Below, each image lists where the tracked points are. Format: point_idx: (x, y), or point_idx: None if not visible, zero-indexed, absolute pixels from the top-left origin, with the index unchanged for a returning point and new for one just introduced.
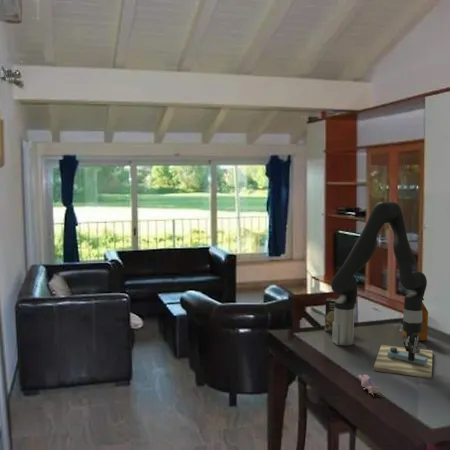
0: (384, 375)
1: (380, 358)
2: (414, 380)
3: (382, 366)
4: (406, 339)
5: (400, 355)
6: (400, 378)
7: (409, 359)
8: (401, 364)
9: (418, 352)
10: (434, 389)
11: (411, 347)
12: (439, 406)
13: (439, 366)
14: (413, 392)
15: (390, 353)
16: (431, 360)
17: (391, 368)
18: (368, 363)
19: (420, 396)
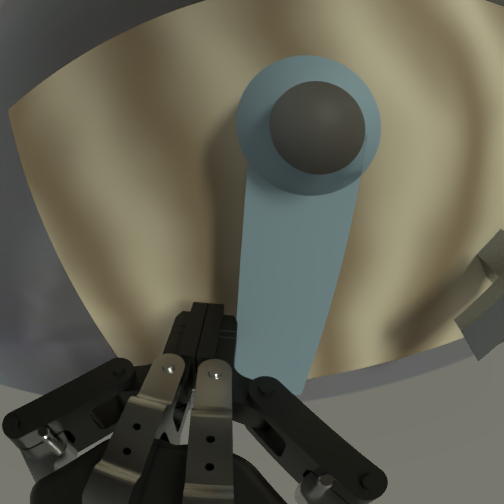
0: (10, 193)
1: (189, 35)
2: (68, 326)
3: (38, 146)
4: (98, 469)
5: (243, 224)
6: (37, 271)
7: (181, 318)
8: (158, 241)
9: (485, 271)
10: (68, 381)
11: (99, 431)
12: (13, 381)
13: (338, 380)
14: (3, 331)
15: (239, 108)
16: (367, 364)
17: (48, 210)
18: (111, 4)
19: (5, 348)
